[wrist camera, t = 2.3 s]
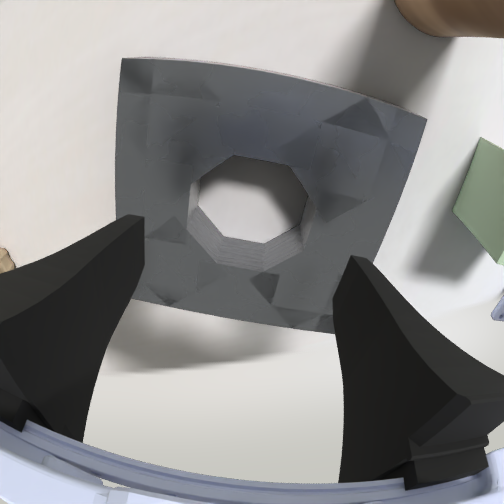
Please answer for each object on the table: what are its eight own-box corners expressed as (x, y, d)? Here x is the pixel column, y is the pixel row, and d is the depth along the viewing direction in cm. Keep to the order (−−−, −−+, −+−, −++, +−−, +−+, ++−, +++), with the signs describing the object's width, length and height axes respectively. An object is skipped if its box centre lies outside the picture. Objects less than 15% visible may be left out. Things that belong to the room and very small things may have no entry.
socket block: (405, 108, 12) (427, 119, 11) (332, 305, 19) (337, 334, 17) (144, 56, 12) (121, 57, 10) (135, 270, 19) (121, 296, 17)
